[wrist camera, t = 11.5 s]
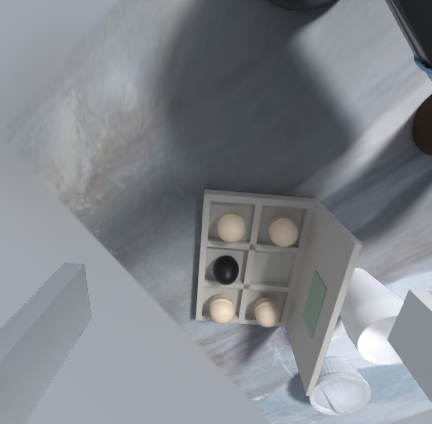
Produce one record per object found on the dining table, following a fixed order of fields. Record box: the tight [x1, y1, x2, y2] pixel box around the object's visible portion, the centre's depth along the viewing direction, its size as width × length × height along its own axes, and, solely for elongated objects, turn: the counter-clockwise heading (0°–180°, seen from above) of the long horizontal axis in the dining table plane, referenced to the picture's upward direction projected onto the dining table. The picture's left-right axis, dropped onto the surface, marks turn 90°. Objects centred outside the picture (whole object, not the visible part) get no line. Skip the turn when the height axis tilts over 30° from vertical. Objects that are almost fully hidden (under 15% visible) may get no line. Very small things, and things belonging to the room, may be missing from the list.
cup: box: [340, 268, 404, 365], centre depth 39 cm, size 9×9×12 cm
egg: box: [213, 255, 239, 285], centre depth 40 cm, size 4×4×5 cm
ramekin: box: [308, 356, 371, 415], centre depth 51 cm, size 11×11×5 cm
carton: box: [196, 189, 363, 396], centre depth 37 cm, size 24×17×14 cm
